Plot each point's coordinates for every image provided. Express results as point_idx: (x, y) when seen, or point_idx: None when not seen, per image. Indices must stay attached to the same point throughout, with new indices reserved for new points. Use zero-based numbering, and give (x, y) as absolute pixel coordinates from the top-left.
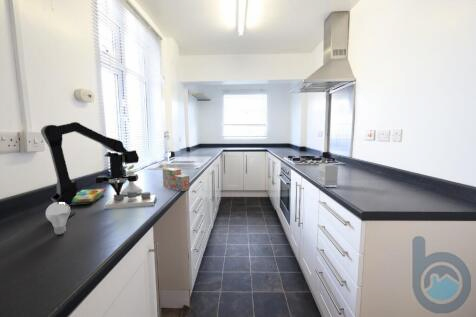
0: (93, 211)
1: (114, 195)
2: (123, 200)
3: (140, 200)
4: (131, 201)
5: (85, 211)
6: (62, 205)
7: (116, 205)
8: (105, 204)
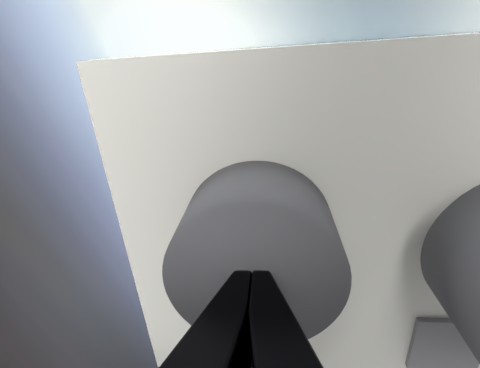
0: (108, 358)
1: (184, 303)
2: None
3: None
4: (466, 350)
5: (39, 345)
6: None
7: None
8: (163, 361)
